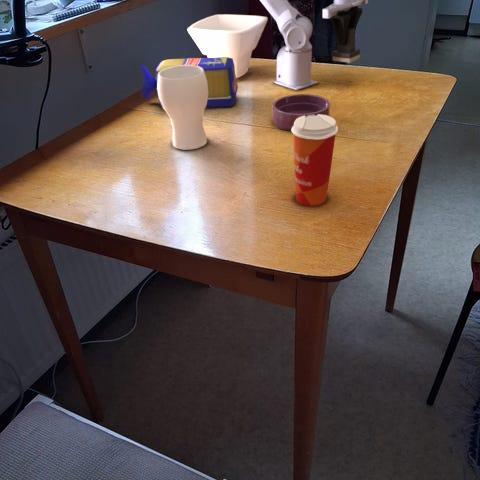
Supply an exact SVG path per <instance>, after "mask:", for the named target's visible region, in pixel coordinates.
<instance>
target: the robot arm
mask: <svg viewBox="0 0 480 480" xmlns="http://www.w3.org/2000/svg"><path fill="white" fill-rule="evenodd" d="M259 1H260V2H261V4H262V6H263V7H264V8H265V9H266V10H267V12H268V13H269V14H270V16H271V17H272V18H273V20H274V21H275V22H276V24H277V28H278V30H279V32H280V34H281V35H282V37H283V39H284V43H285V45H284V46H282V47H281V48H280V49H279V50H278V53H277V56H276V80H274V84H277V85H280V86H282V87H285V88H288V89H291V90H295V91H299V90H302V89H304V88H305V89H306V88H308V87H311V86H314V85H316V84H318V81H317V80H315V79H314V80H313V79H312V57H313V55H312V54H313V45H312V44H311V42H310V39H311V37H312V34H313V28H314V27H313V24H312V22H311V19H309V17H306V16H304V15H302V14H301V13H300V11H298V9H296V8H295V7H294V6H292V5H291V4H290V2H289V1H288V0H259ZM368 3H369V0H333V3H332V4H330V5H328V6H326V7H325V8H322V19H326V20H327V19H329V21H330V22H331V24H332V26H333V29H334V31H335V35H336V39H337V38H338V43H339V45H346V44H347V34H348V28H355V32H356V30H357V28H358V27H357V26H358V24H359V20H360V18H361V17H362V15H363V8H362V7H360V6H363V5H367V4H368Z"/></svg>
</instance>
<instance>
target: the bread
mask: <svg viewBox="0 0 480 480" xmlns="http://www.w3.org/2000/svg"><path fill="white" fill-rule="evenodd" d="M178 65H195V66H199V67H201V68H202V69H203V70H204V73H205V76H206V79H207V84H208V99H207V105H206V107H205V109H206V108H207V109H208V108H209V109H210V108H231V107H232V108H233V105H234V103H236V102H235V101H236V97H237V93H238V89H239V85H238V81H237V78H236V75H235V67H234V62H233V59H232V58H228V57H214V58H208V57H189V58H171V59H165V60H162V61H160V62H159V64H158V65H157V67H156V68H155V77H153V76H152V74H151V73H150V71H149V69H148V67H146V66H145V65H144V64H142V63H139V67H140V69H141V71H142V73H143V75H144V82H143V84H142V91H141V97H142V99H143V98H145V99H147V100H148V101H147V103H149V102H150V100H151V97H152V96H153V94H154V92H155V91H156V97H157V100H158V102H159V105H160V106H161V108H162V109H163V110H164V108H163V106H162V104H161V101H160V99H159V95H158V89H157V83H158V73H159V72H160V71H161V70H163V69H165V68H168V67H172V66H178Z"/></svg>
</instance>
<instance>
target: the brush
mask: <svg viewBox="0 0 480 480" xmlns="http://www.w3.org/2000/svg"><path fill="white" fill-rule="evenodd" d="M336 43H337V44H336V46H337V47H336V50H335V49H334V51H332V61H333V62H341V63H348V64H350V63H353V62H355V61H357V60H360V58H361V49H360V48H356V31H355V28H348V34H347V44H346V45H339V43H338V38H337V37H336Z"/></svg>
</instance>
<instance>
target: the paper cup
mask: <svg viewBox="0 0 480 480" xmlns="http://www.w3.org/2000/svg"><path fill="white" fill-rule="evenodd" d="M290 132H291V133H292V137H293V161H294V163H293V164H294V166H293V167H294V189H295V200H296V202H298V204H300V205H303V206H308V207H315V206H320V205H322V204H324V203H325V202H326V200H327V197H328V196H327V195H328V191H329V184H330V178H331V171H332V164H333V155H334V149H335V141H336V134H337V133H338V132H339V127H338V126H337V121H336V119H335V118H334V117H332V116H330V115H329V116H327V115H321V114H318V115H317V116H315V115H308V116H306V118H305V115H304V116H301V117H299V118H297V119H296V120H295V122H294V126H293V127H292V129H291V131H290Z"/></svg>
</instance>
